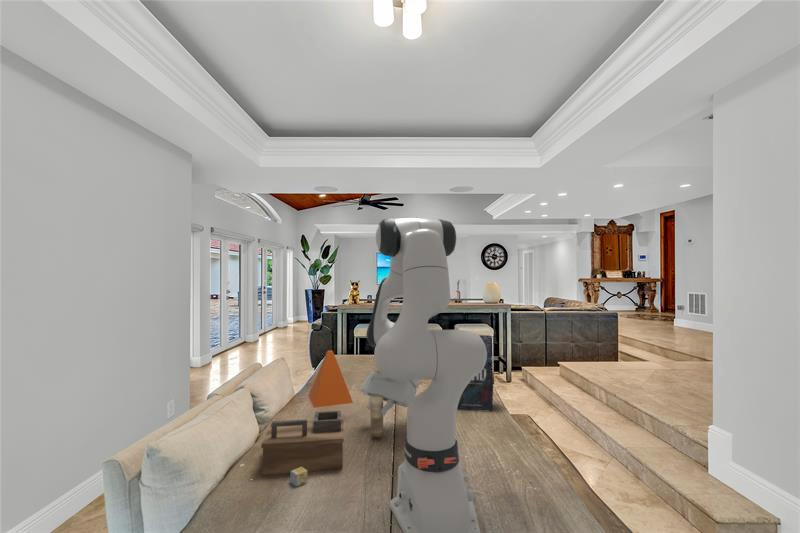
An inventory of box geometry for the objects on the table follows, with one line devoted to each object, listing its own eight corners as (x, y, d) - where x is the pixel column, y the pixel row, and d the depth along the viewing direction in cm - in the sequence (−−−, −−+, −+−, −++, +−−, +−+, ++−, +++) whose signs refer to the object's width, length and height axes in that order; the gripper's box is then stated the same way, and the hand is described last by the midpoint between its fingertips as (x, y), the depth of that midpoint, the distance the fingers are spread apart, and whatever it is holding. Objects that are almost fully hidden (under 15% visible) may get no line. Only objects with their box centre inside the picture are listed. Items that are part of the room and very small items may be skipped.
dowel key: (383, 436, 117) (383, 398, 117) (371, 437, 116) (371, 398, 117) (382, 431, 121) (382, 394, 121) (370, 432, 120) (370, 394, 121)
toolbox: (343, 469, 100) (343, 423, 100) (261, 475, 96) (261, 428, 97) (343, 445, 113) (343, 405, 113) (271, 450, 110) (271, 409, 110)
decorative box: (493, 411, 141) (493, 337, 142) (449, 409, 144) (449, 336, 144) (491, 404, 149) (491, 334, 150) (449, 402, 152) (449, 333, 152)
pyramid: (353, 403, 151) (353, 353, 152) (313, 408, 145) (313, 356, 146) (344, 391, 166) (344, 346, 166) (308, 395, 160) (308, 349, 161)
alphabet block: (290, 482, 93) (290, 470, 93) (301, 477, 95) (301, 465, 95) (296, 487, 91) (296, 475, 91) (307, 482, 93) (307, 470, 93)
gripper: (369, 364, 131) (348, 399, 124) (415, 374, 118) (394, 414, 110) (378, 374, 134) (358, 409, 127) (423, 385, 121) (404, 424, 113)
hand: (375, 411), depth 118 cm, fingers closed on dowel key, 4 cm apart
